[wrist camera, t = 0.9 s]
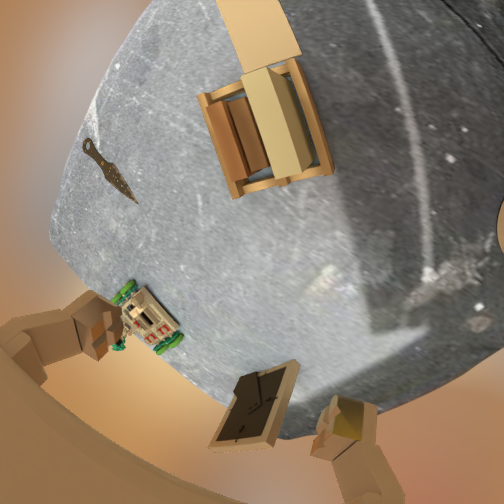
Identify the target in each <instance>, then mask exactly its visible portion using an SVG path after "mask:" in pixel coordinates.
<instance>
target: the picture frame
mask: <svg viewBox="0 0 504 504" xmlns="http://www.w3.org/2000/svg"><path fill="white" fill-rule="evenodd" d="M299 368H300V364H299V363H298V362H297V361H296V360H295V359H293V360H291V361H288V362H286V363H283V364H281V365H278V366H275V367H273V368H270V369H268V370H265V371H262V372H259V373H257V372H253V373H250V374H247V375H244V376H241V377H240V379H239V381H238V383H237V385H236V387H235V389H234V391H233V392H234V394H235V395H234V397H233V399H232V401H231V403H230V405H229V407H228V409H227V411H226V413H225V415H224V417H223V419H222V421H221V423H220V425H219V427H218V429H217V431H216V432H215V434H214V436H213V438H212V440H211V442H210V444H209V446H208V449H210V450H211V451H213V452H214V453H222V452H237V451H249V450H258V449H267V448H273V447H274V445H275V442H276V439H277V436H278V433H279V430H280V428H281V425H282V422H283V419H284V416H285V413H286V410H287V407H288V404H289V400H290V397H291V394H292V391H293V388H294V385H295V381H296V378H297V375H298V371H299Z"/></svg>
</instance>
